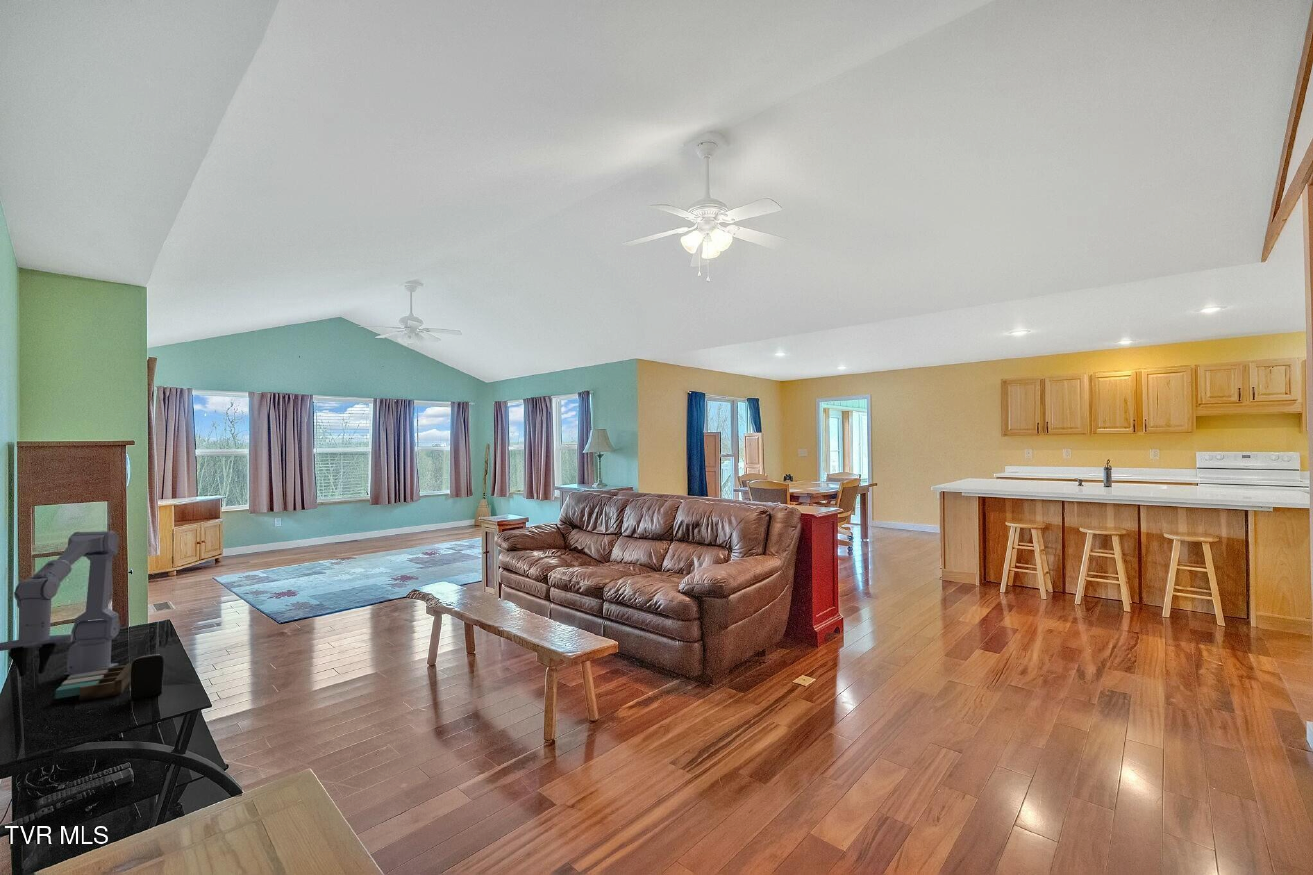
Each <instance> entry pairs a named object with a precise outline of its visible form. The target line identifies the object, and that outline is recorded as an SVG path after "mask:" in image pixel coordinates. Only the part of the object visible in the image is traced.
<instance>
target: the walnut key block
mask: <svg viewBox="0 0 1313 875" xmlns="http://www.w3.org/2000/svg"><path fill="white" fill-rule="evenodd" d="M131 663H132V662H128V663H126V664H125V665H117V666H114V667H110V668H104V669H97V670H95V671H101V670H108V673H102V674H96V675H91V676H90V677H93V676H99V675H104V678H102V679H95V680H89V681H85V683H86V682H93V681H99V684H95V685H89V686H82V687H80V695H78V696H79V698H78V699H79V701H86V700H93V699H98V698H104V697H110V696H116V695H121V694H122V693H124V691H125V689H126V687H127V686H128V685H129V683H130V671H131Z"/></svg>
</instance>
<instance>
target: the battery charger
mask: <svg viewBox="0 0 1313 875" xmlns="http://www.w3.org/2000/svg"><path fill="white" fill-rule="evenodd" d="M130 663H131V671H130V681H129V683H130V690H129V691H130V693H129V694H130V695H129V700H130V701H135V700H140V699H146V698H150V697H155V696H158V695H161V694H162V693H163V682H164V672H165V657H164V655H163V654H162V653H159V652H156V653H155V652H154V653H148V654H144V655H143V654H142V655H138V656H136V657H134V658H133V659H132V661H131V662H130Z"/></svg>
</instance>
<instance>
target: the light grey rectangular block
mask: <svg viewBox="0 0 1313 875" xmlns="http://www.w3.org/2000/svg"><path fill="white" fill-rule="evenodd" d="M102 673H108V670H101V671H94V672H88V673H81V674H69V676H68V677H67V679H66V680H73V679H80V678H86V677H90V676H91V675H96V674H102Z"/></svg>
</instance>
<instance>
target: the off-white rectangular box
mask: <svg viewBox="0 0 1313 875" xmlns="http://www.w3.org/2000/svg"><path fill="white" fill-rule="evenodd" d="M102 678H104V675H99V676H93V677H86V678H80V679H73V680H67V679H66V680H64V681H63V682H61V685H60V686H67V685H73V684H80V683H85V681H89V680H95V679H102Z"/></svg>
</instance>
